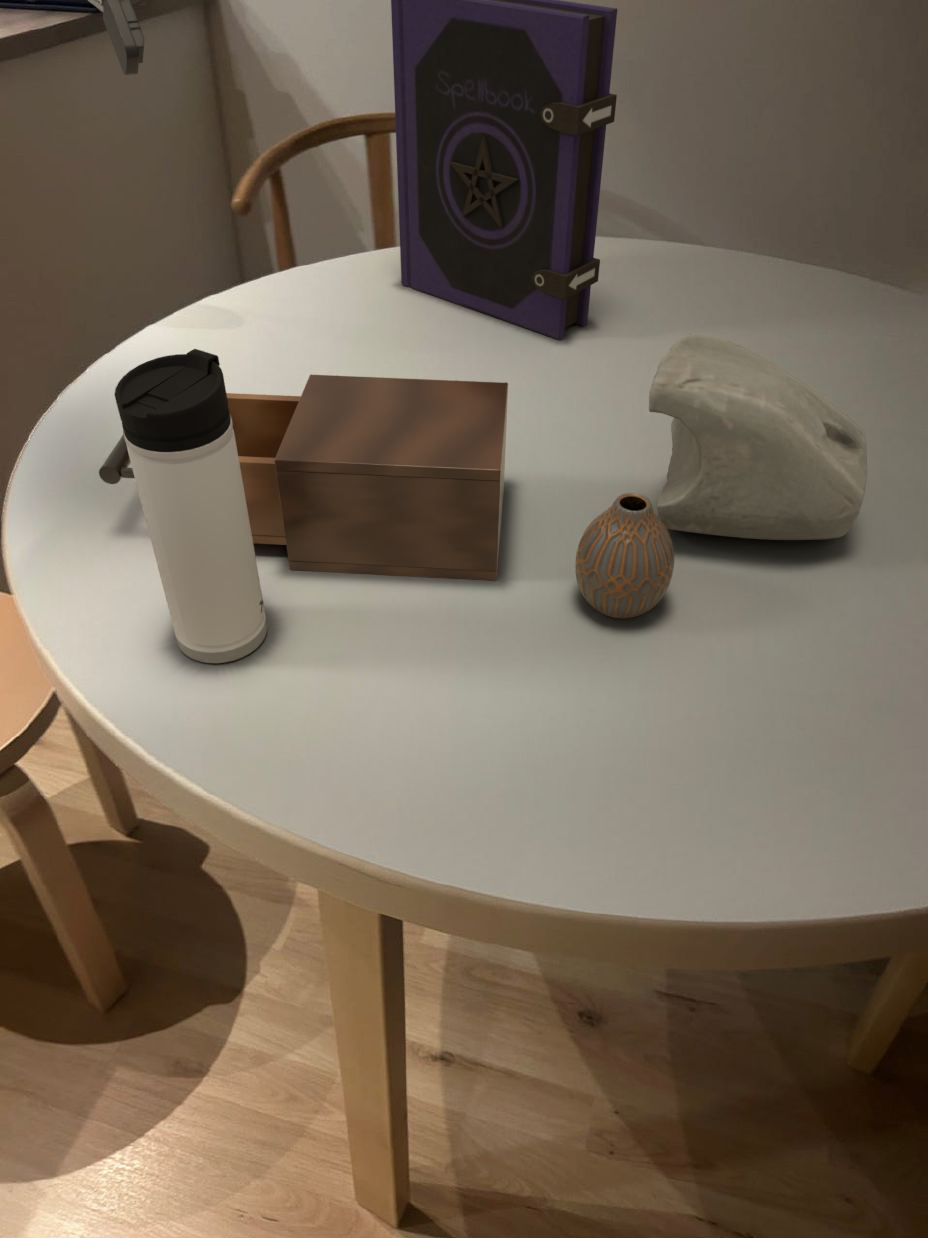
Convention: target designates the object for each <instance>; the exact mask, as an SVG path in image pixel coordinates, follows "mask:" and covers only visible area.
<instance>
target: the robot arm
mask: <svg viewBox="0 0 928 1238" xmlns="http://www.w3.org/2000/svg"><path fill="white" fill-rule="evenodd" d="M87 1H88V2H89V3H90V4H92V5H93V6H94V7H95V8H97V9H98V10H99V11H100V12H102V13H103V14H102V21H103V23H104V26H105V28H106V31H107V33H108V36H109V39H110V41H111V44H112V46H113V49H114V52H115V54H116V58H117V60H118V62H119V65H120V68H121V70H122V73H123V75H124V76H132V75H138V74H139V66H140V65H139V64H143V62H144V52H145V36H144V33H143V30H142V29H141V26H140V23H139V20H138V18H137V15H136V12H135V9H134V7H133V5H136V6H137V5H138V6H145V5H147V4H148V3H149V1H150V0H87Z"/></svg>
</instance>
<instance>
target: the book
mask: <svg viewBox="0 0 928 1238" xmlns="http://www.w3.org/2000/svg"><path fill="white" fill-rule="evenodd" d="M390 10H391V37H392V64H393V65H392V66H393V85H394V86H393V90H394V91H393V92H394V93H393V94H394V121H395V144H396V174H397V200H398V201H397V203H398V227H399V252H400V256H399V257H400V275H401V276H400V279H401V280H400V281H401V285H402V286H405V287H407V288H412V289H413V290H416V291H418V292H422V293H423V294H426V295H427V294H428V295H429V296H433V297H436V298H439V299H442V300H444V301H447V302H450V303H452V304H456V305H458V306H461V307H464V308H467V309H470V310H472V311H475V312H479V313H481V314H483V315H487V316H490V317H492V318H495V319H498V320H501V321H504V322H507V323H509V324H511V325H512V324H513V325H514V326H515V325H516V326H518V327H521V328H524V329H527V330H530V331H533V332H535V333H538V334H541V335H544V336H547V337H550V338H553V339H555V340H558V341H560V342H561V341H562V340H564V339H565V329H566V328H567V327H570V326H571V325H573V324H574V325H577V326H579V327H583V328H585V327H587V326H588V320H589V319H588V318H589V309H590V297H591V288H592V285H594V284H596V283H598V282H599V275H600V274H599V273H600V265H601V259H599V258H597V257H595V246H596V245H595V244H596V235H597V226H598V215H599V207H600V205H599V204H600V196H601V185H602V174H603V163H604V151H605V142H606V131H607V125H609V124H613V123H615V118H616V108H617V98H618V95H617V94H614V93H610V90H611V80H612V71H613V59H614V51H615V50H614V49H615V48H614V47H615V41H616V40H615V38H616V29H617V17H618V8H616V7H609V6H602V5H595V4H590V3H589V4H587V3H582V2H576V1H575V2H574V1H567V0H390Z"/></svg>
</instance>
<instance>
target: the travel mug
mask: <svg viewBox="0 0 928 1238" xmlns="http://www.w3.org/2000/svg"><path fill="white" fill-rule="evenodd" d="M219 358H220V357H219V356H218V355H217V354H215V353H211V352H208V351H204V350H201V349H198V348H193V349H191V350H189V351H188V352H186V353H181V354H178V353H177V354H170V355H165V356H160V357H156V358H153V359H150V360H148V361H145V362H143V363H141V364H138V365H136V366H135V367H133V368H132V369H130V370H129V371H128V372H126V373H125V374H124V375H123V376H122V378H121V379H120V380H119V381H118V383H117V385H116V387H115V388H114V389H115V390H114V400H115V402H116V407H117V411H118V414H119V418H120V421H121V426H122V433H123V434H124V438H125V442H126V445H127V450H128V454H129V458H130V461H131V463H130V465H131V468H132V469H133V473H134V477H135V478H134V481H135V484H136V489H137V492H138V496H139V501H140V504H141V507H142V511H143V515H144V519H145V523H146V527H147V531H148V534H149V539H150V543H151V546H152V550H153V554H154V558H155V562H156V565H157V570H158V573H159V578H160V581H161V586H162V589H163V593H164V596H165V600H166V604H167V609H168V612H169V616H170V620H171V623H172V627H173V631H174V635H175V639H176V643H177V646H178V647H179V650H180V651H181V652H182V653H183V654H184V655H186V656H187V657H189V658H190V659H192V660H195V661H198V662H201V663H205V664H206V663H207V664H222V663H229V662H233V661H237V660H240V659H242V658H244V657H246V656H247V655H250V654H251V653H252V652H254V651H255V650H256V649H258V647H259V646H261V644H262V643H263V641H264V640H265V638H266V635H267V633H268V621H267V617H266V616H267V615H266V611H265V605H264V598H263V593H262V587H261V582H260V575H259V569H258V564H257V558H256V552H255V546H254V543H253V540H252V534H251V528H250V522H249V516H248V511H247V505H246V499H245V493H244V487H243V481H242V476H241V470H240V464H239V458H238V452H237V446H236V441H235V435H234V430H233V423H232V418H231V415H230V411H229V408H228V400H227V394H226V393H227V388H226V383H225V377H224V373H223V370H222V368H221V367H220V366H221V364H220V359H219ZM123 434H122V435H123Z"/></svg>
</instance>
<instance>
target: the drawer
mask: <svg viewBox="0 0 928 1238" xmlns="http://www.w3.org/2000/svg"><path fill="white" fill-rule="evenodd" d="M226 394H227V400H228V408H229V411H230V415H231V418H232V423H233V430H234V435H235V441H236V446H237V452H238V458H239V464H240V470H241V476H242V481H243V487H244V493H245V499H246V505H247V511H248V516H249V522H250V528H251V534H252V540H253V544H259V545H278V546H279V545H280V546H287V545H286V538H285V531H284V524H283V517H282V510H281V504H280V497H279V490H278V483H277V476H276V468H275V461H274V460H275V457H276V455H277V452H278V450H279V448H280V445H281V443H282V441H283V438H284V436H285V433H286V431H287V429H288V426H289V424H290V421H291V419H292V417H293V414H294V412H295V410H296V407H297V405H298V402H299V400H300V398H301V395H281V394H280V395H279V394H256V393H237V392H235V393H234V392H233V393H232V392H228V393H227V392H226ZM130 465H131V461H130V458H129V454H128V450H127V445H126V442H125V438H124V434H122V436H120V438H119V440H118V441H117V443H116V444H115V446H114V448H113V449H112V451H111V452H110V454H109V455H108V456H107V458H106V459H105V461H104V463H102V465H101V467H100V468H99V469H98V475H99V477H100V480H101V481H103V482H104V483H106V484H108V485H117V484H118V483H120V481H121V479H135V477H134V473H133V469H132V467H130Z"/></svg>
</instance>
